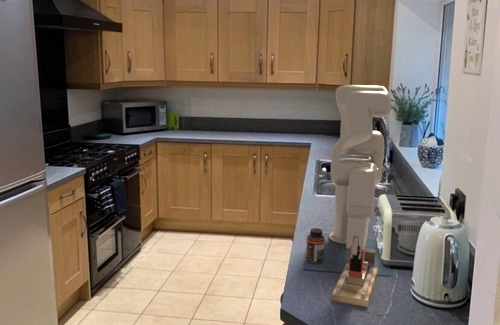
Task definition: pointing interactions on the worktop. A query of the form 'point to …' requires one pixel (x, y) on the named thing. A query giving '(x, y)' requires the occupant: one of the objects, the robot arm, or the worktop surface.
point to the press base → (354, 291)
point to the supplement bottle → (315, 246)
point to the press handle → (358, 276)
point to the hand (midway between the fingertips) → (356, 268)
